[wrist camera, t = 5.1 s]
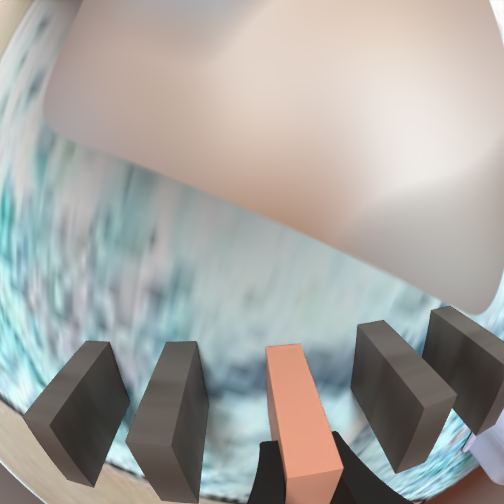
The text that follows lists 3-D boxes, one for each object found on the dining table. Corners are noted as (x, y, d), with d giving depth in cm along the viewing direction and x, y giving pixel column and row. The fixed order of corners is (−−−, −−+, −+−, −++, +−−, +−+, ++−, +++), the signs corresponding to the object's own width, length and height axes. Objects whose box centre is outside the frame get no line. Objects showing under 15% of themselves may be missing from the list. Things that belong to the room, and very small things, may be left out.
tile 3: (208, 403, 15) (198, 503, 8) (182, 404, 15) (161, 500, 8) (196, 341, 14) (171, 445, 7) (166, 342, 14) (125, 441, 7)
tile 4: (130, 401, 15) (94, 487, 8) (108, 399, 15) (67, 479, 8) (109, 341, 14) (49, 425, 7) (86, 340, 14) (22, 416, 7)
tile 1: (436, 364, 15) (494, 424, 9) (418, 370, 15) (475, 436, 8) (449, 305, 14) (525, 357, 8) (431, 310, 14) (508, 368, 8)
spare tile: (297, 407, 14) (323, 516, 7) (267, 410, 14) (283, 522, 7) (300, 343, 13) (343, 467, 6) (265, 346, 13) (287, 478, 6)
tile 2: (374, 382, 15) (424, 462, 8) (350, 387, 15) (395, 474, 8) (383, 319, 14) (457, 394, 7) (357, 324, 14) (424, 407, 7)
